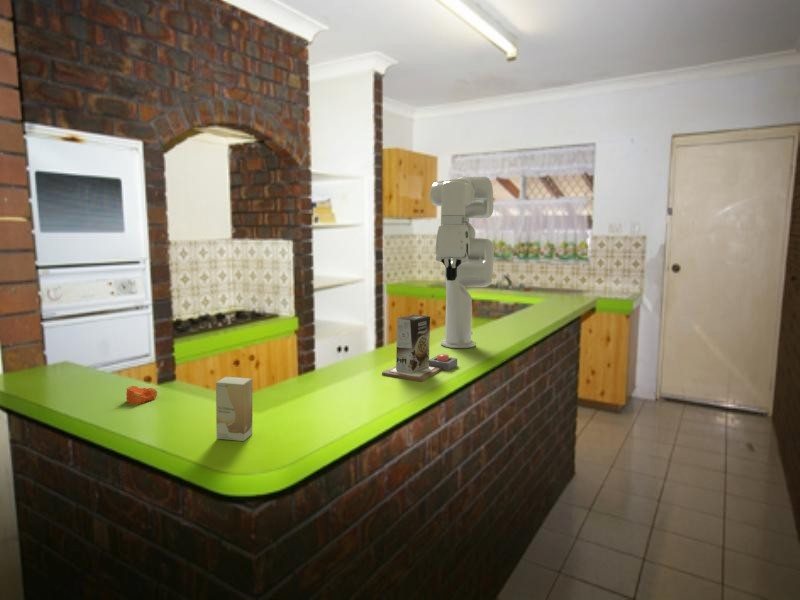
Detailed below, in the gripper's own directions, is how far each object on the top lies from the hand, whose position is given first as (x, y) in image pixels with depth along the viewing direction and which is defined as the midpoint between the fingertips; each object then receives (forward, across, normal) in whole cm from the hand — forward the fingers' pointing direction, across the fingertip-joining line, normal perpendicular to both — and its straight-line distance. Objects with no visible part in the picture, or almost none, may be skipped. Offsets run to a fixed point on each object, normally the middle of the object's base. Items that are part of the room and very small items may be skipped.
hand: (451, 280), depth 167 cm
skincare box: (+27, +14, +78) cm, 84 cm away
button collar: (+27, 0, +5) cm, 28 cm away
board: (+27, +5, +16) cm, 32 cm away
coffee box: (+26, +5, +16) cm, 31 cm away
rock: (+28, +51, +74) cm, 94 cm away
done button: (+27, 0, +5) cm, 27 cm away
